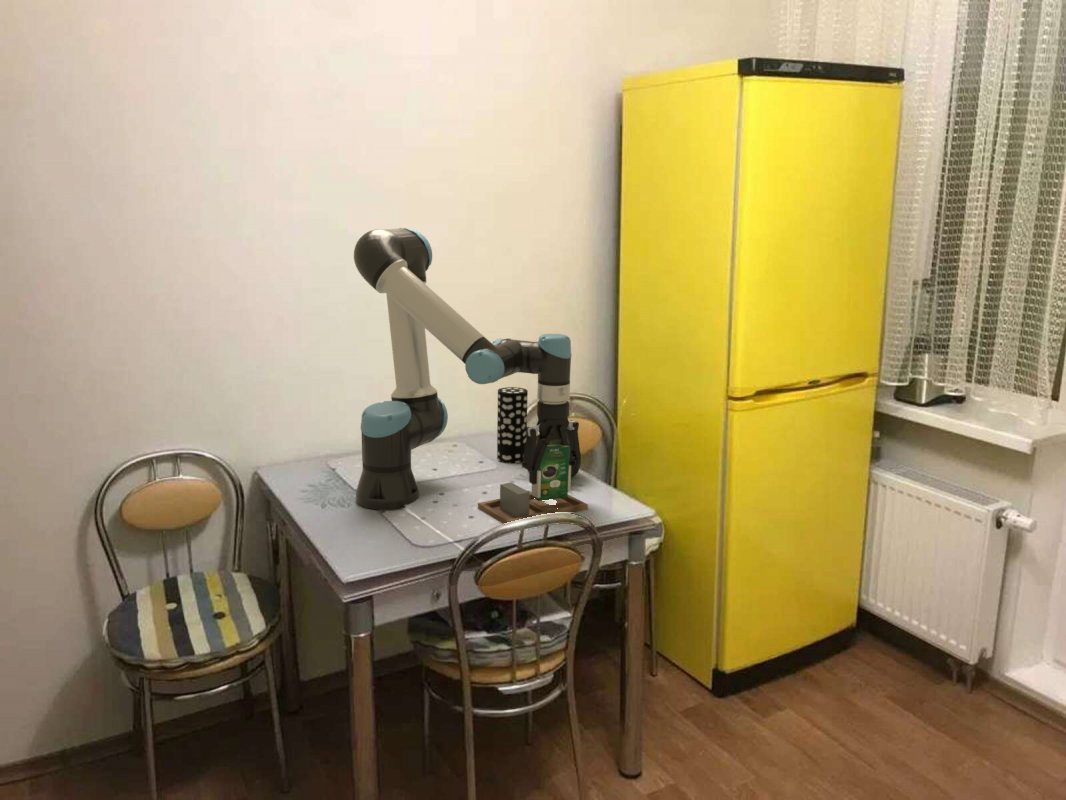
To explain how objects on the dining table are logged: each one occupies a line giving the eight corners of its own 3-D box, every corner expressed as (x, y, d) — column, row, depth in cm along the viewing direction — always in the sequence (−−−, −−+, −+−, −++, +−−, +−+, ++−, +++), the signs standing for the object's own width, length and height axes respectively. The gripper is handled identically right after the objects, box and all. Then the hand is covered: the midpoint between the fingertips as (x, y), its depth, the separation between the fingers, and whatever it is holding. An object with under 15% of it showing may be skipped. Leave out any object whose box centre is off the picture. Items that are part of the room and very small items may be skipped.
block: (518, 519, 197) (518, 494, 195) (499, 508, 203) (500, 484, 202) (529, 516, 198) (529, 492, 197) (510, 506, 205) (511, 482, 203)
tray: (509, 530, 192) (509, 521, 192) (477, 511, 203) (477, 503, 203) (587, 512, 204) (587, 504, 203) (553, 495, 215) (554, 487, 215)
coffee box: (563, 493, 209) (565, 442, 206) (568, 497, 206) (570, 445, 203) (533, 498, 206) (534, 445, 203) (538, 502, 203) (539, 448, 200)
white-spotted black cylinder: (492, 456, 246) (493, 388, 241) (519, 453, 250) (520, 386, 245) (504, 464, 239) (504, 394, 234) (531, 461, 242) (532, 392, 238)
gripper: (524, 409, 192) (523, 505, 197) (598, 399, 203) (595, 490, 208) (507, 402, 198) (505, 495, 203) (579, 392, 209) (576, 481, 214)
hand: (551, 493), depth 206 cm, fingers closed on coffee box, 8 cm apart
